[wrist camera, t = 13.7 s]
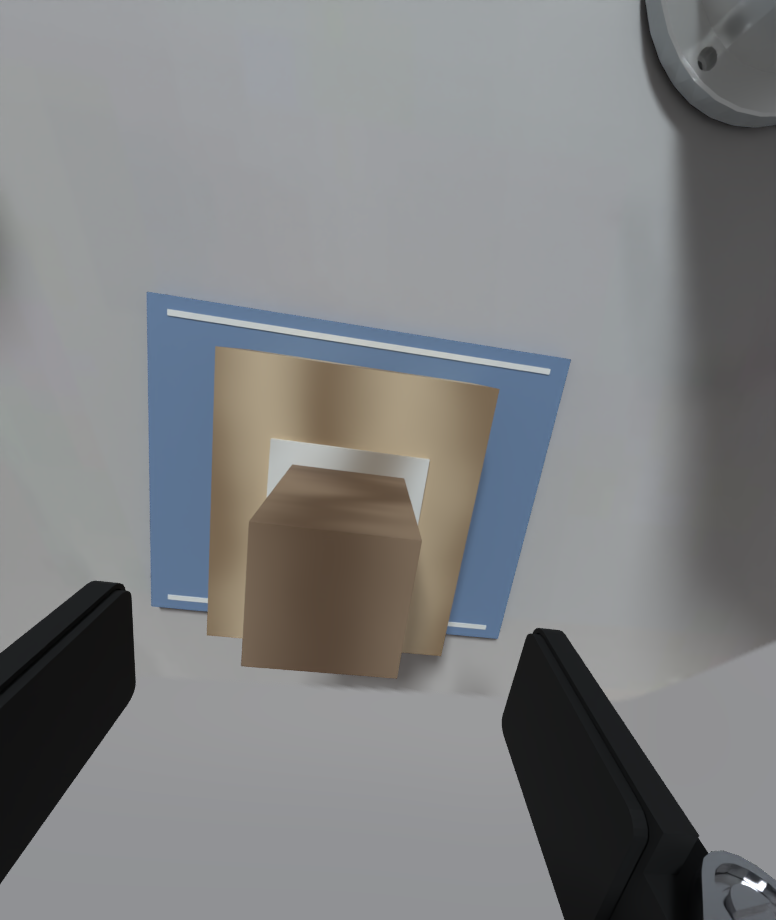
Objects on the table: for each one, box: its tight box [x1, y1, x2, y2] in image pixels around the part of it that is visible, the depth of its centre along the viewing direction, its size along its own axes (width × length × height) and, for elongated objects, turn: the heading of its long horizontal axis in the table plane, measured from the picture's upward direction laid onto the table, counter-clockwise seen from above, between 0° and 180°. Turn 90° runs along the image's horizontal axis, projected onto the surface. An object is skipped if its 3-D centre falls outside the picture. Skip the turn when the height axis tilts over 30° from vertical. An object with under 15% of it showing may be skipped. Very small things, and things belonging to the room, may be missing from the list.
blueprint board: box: [147, 292, 571, 639], centre depth 22 cm, size 22×18×1 cm
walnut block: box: [241, 464, 422, 679], centre depth 14 cm, size 5×5×6 cm
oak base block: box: [207, 346, 500, 656], centre depth 20 cm, size 12×14×5 cm
